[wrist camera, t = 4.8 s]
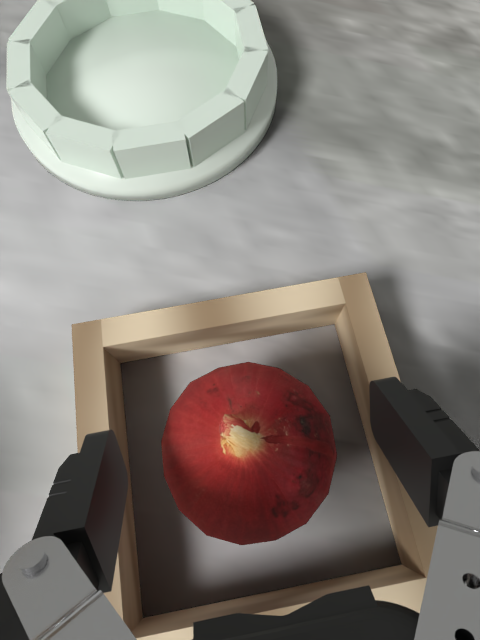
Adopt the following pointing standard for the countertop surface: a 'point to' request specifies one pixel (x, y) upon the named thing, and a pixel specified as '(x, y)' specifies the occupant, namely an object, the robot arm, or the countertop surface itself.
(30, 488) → the countertop surface
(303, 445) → the onion
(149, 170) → the dish
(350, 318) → the holder
